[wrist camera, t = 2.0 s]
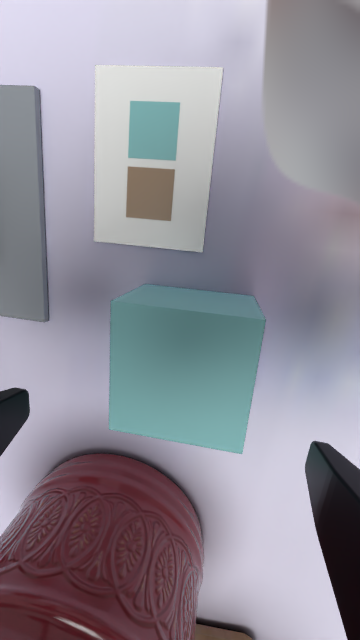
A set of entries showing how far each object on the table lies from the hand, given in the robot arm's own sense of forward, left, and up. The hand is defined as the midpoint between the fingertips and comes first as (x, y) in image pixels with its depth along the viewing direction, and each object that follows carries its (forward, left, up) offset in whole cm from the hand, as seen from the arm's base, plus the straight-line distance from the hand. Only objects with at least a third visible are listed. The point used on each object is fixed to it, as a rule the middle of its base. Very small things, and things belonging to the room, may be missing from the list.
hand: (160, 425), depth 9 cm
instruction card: (+9, +3, -8) cm, 12 cm away
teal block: (0, 0, -8) cm, 8 cm away
